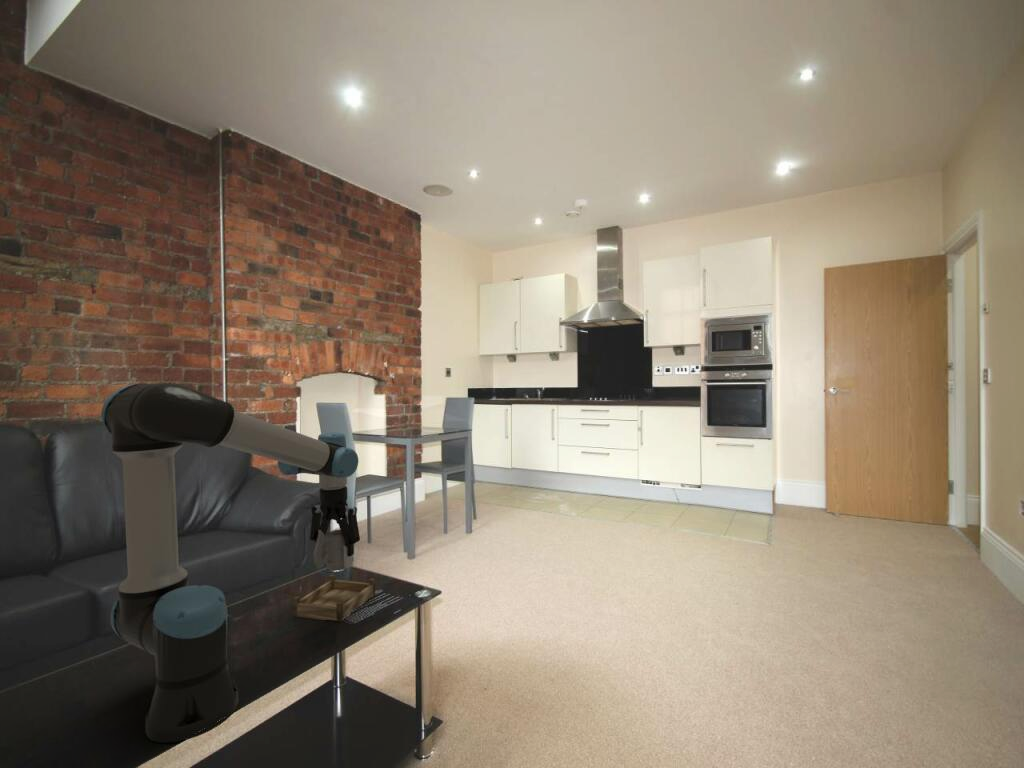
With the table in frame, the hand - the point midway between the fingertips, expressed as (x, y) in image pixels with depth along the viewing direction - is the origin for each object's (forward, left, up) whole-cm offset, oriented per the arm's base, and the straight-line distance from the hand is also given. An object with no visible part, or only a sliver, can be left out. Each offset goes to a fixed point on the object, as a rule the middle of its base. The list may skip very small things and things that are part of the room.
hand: (335, 565), depth 142 cm
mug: (0, +1, -1) cm, 1 cm away
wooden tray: (0, 0, -11) cm, 11 cm away
